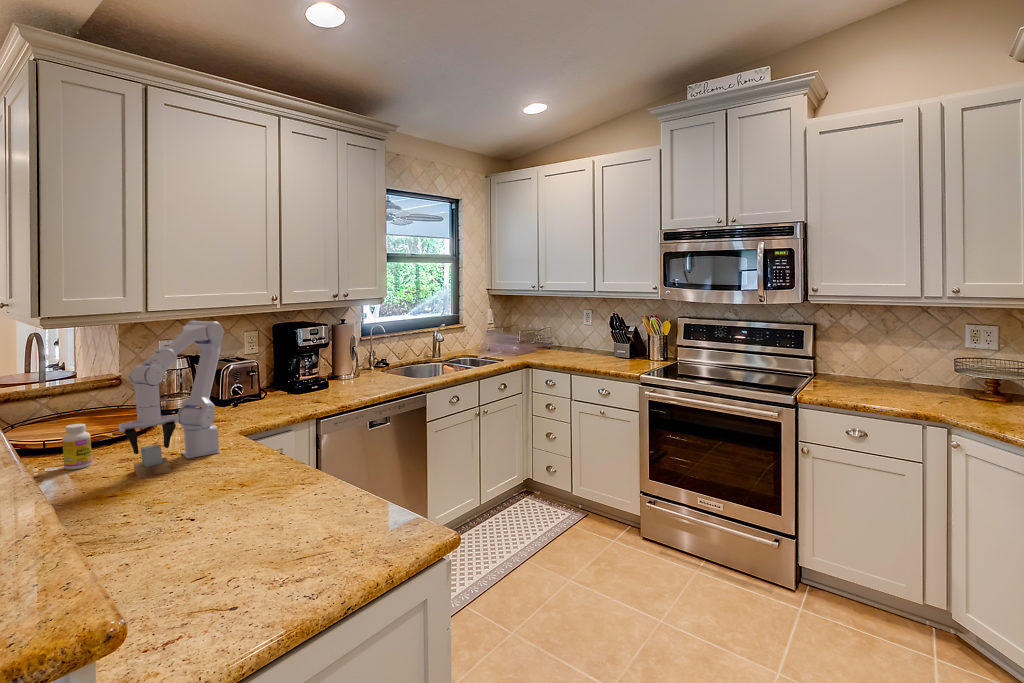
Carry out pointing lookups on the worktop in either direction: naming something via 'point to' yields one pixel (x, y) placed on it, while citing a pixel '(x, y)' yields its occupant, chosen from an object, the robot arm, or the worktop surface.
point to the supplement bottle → (76, 447)
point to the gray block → (151, 455)
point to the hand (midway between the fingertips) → (151, 450)
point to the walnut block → (152, 469)
